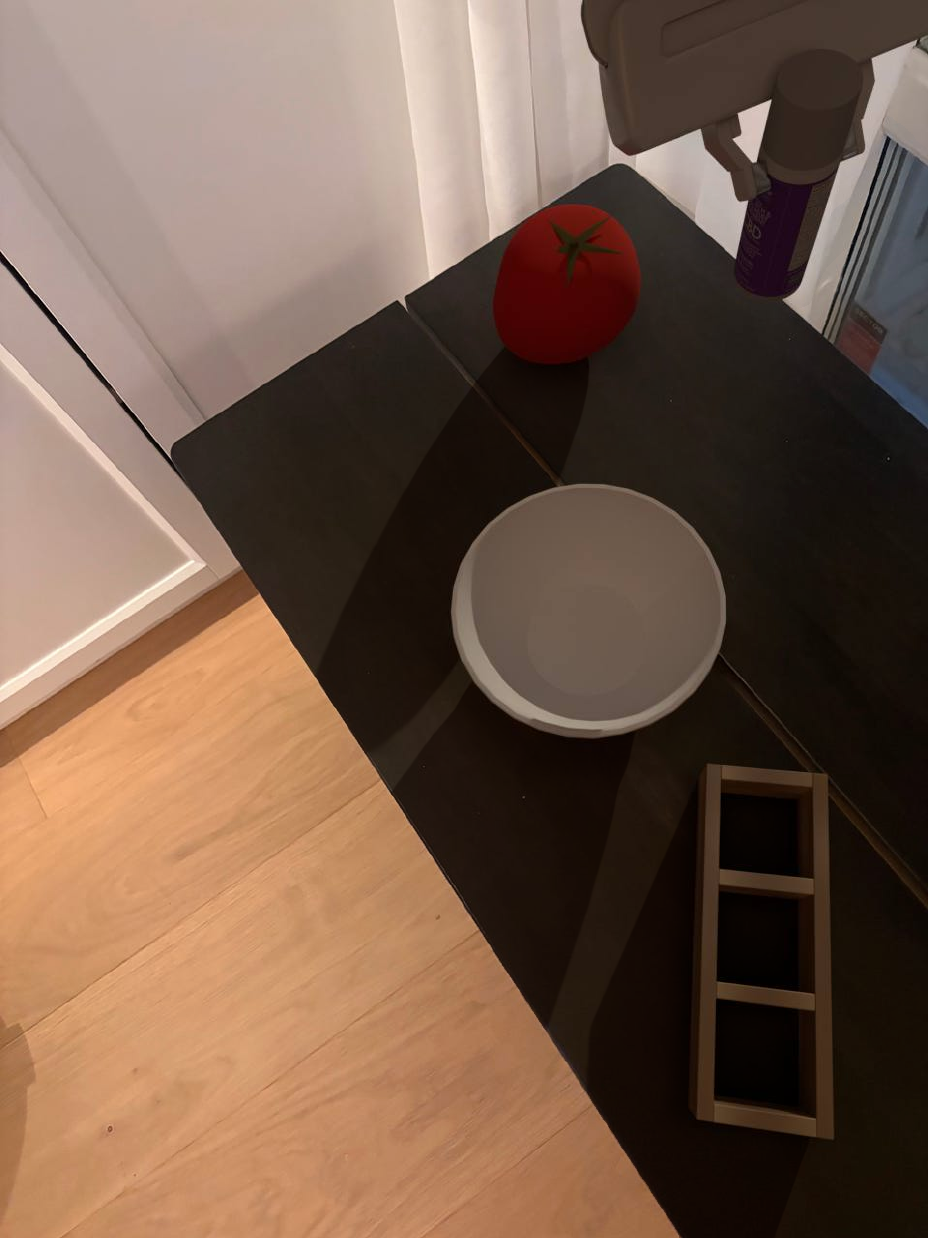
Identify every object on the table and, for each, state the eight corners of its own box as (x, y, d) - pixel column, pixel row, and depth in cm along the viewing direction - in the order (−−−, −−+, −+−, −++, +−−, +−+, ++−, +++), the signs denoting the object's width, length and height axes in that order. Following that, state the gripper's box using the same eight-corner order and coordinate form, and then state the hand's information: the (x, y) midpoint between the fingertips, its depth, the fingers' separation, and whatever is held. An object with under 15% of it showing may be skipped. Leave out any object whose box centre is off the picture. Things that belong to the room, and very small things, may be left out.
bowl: (428, 590, 76) (410, 548, 68) (640, 495, 76) (646, 442, 69) (525, 804, 68) (517, 784, 61) (759, 698, 69) (780, 665, 61)
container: (718, 280, 63) (756, 86, 49) (760, 236, 64) (809, 34, 50) (775, 313, 61) (831, 124, 47) (817, 268, 62) (884, 69, 48)
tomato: (465, 332, 84) (448, 241, 74) (578, 248, 86) (577, 148, 76) (552, 415, 80) (546, 331, 69) (669, 325, 82) (681, 230, 71)
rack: (811, 787, 66) (827, 774, 62) (815, 1126, 59) (834, 1140, 54) (698, 777, 68) (706, 763, 63) (688, 1107, 60) (696, 1119, 55)
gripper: (588, -38, 46) (660, 242, 51) (960, -189, 46) (992, 105, 51) (555, -4, 51) (623, 244, 57) (885, -139, 52) (921, 121, 57)
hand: (801, 177), depth 54 cm, fingers closed on container, 5 cm apart
